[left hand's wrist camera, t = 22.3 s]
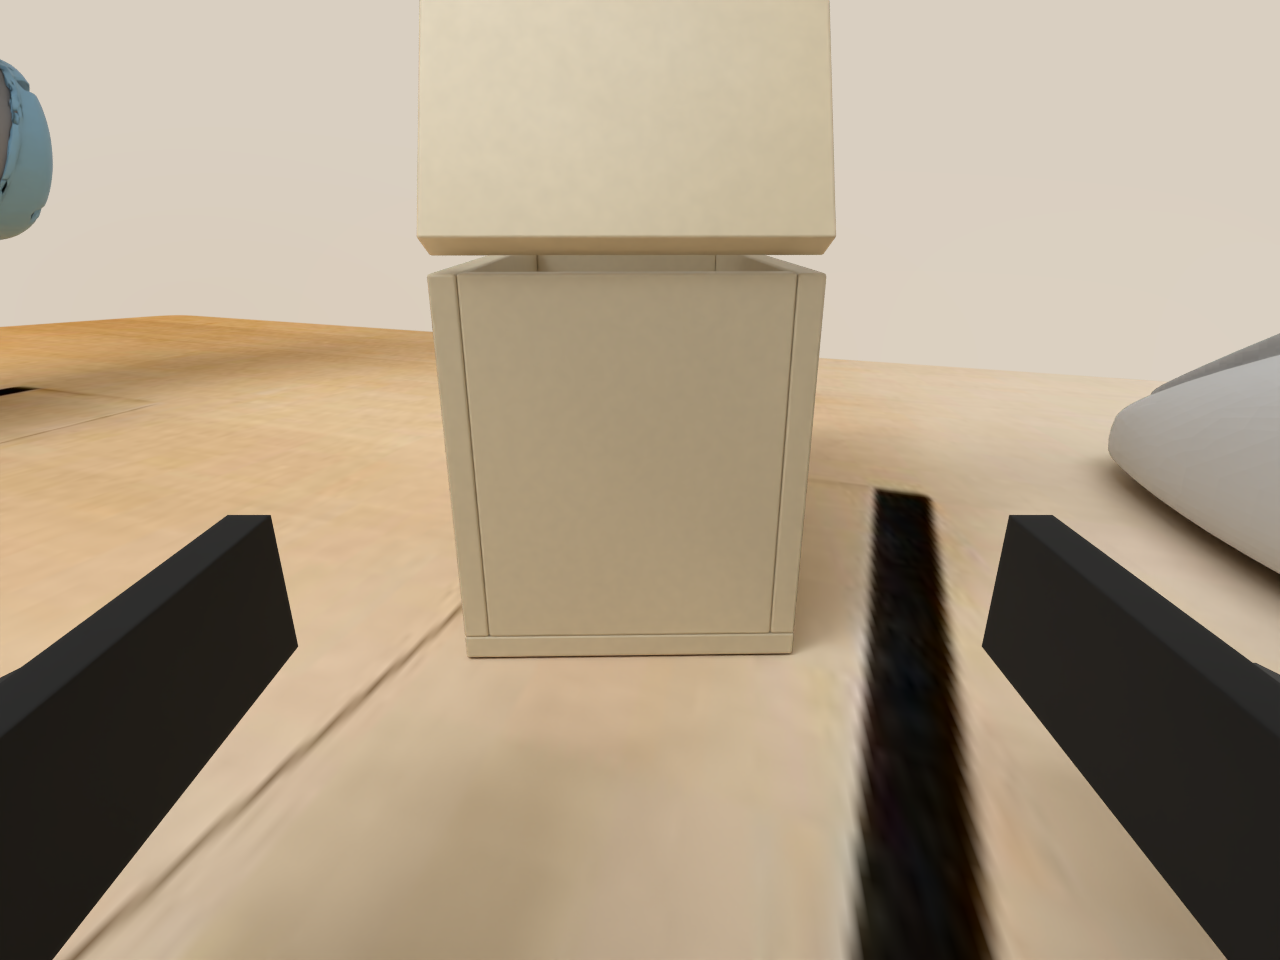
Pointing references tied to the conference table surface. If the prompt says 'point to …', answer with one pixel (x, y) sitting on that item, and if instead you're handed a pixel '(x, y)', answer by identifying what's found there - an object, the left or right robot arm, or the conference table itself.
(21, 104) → the right robot arm
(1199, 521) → the projector
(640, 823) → the conference table surface
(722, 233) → the lid
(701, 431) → the chest
